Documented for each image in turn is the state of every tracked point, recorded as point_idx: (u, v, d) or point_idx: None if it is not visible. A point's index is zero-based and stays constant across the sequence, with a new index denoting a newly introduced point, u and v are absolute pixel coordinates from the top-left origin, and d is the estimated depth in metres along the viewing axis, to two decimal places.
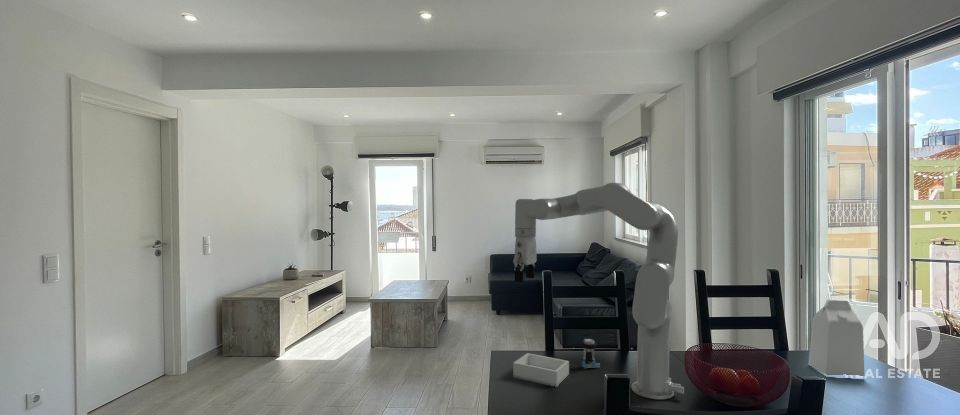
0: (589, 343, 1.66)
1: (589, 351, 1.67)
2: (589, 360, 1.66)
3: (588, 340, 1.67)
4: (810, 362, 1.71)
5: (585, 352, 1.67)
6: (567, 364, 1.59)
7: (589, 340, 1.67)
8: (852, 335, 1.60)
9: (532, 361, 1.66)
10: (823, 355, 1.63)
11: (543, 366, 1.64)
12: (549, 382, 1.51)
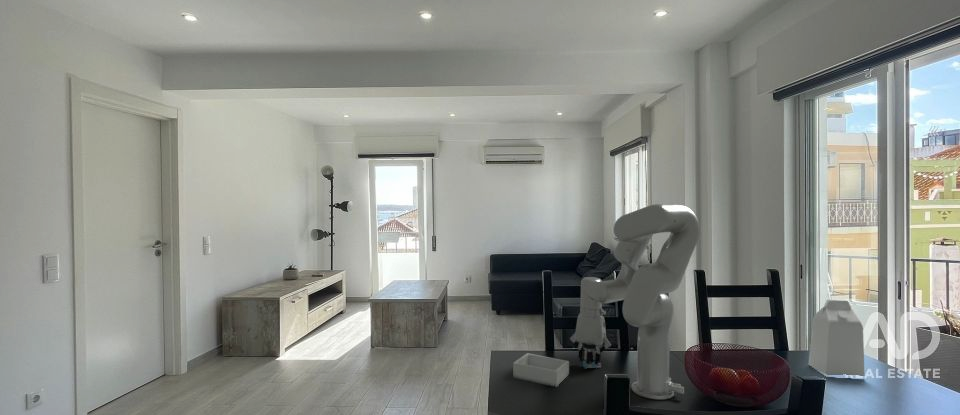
0: None
1: (590, 351, 1.67)
2: (590, 360, 1.66)
3: None
4: (810, 362, 1.71)
5: (586, 352, 1.67)
6: (567, 364, 1.59)
7: None
8: (852, 335, 1.60)
9: (532, 361, 1.66)
10: (823, 355, 1.63)
11: (543, 366, 1.64)
12: (549, 382, 1.51)
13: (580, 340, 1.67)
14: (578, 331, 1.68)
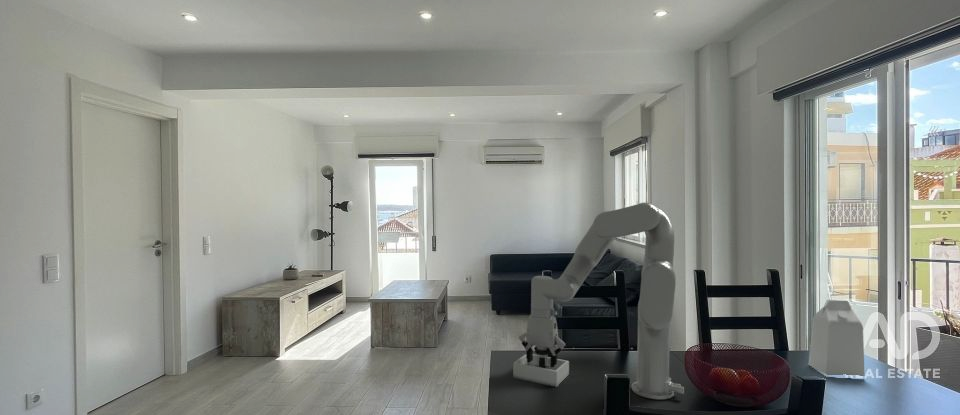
0: (542, 348, 1.57)
1: (542, 357, 1.58)
2: (542, 366, 1.57)
3: None
4: (810, 362, 1.71)
5: (538, 358, 1.58)
6: (567, 364, 1.59)
7: None
8: (852, 335, 1.60)
9: (532, 361, 1.66)
10: (823, 355, 1.63)
11: None
12: (549, 382, 1.51)
13: (531, 342, 1.58)
14: (529, 333, 1.59)
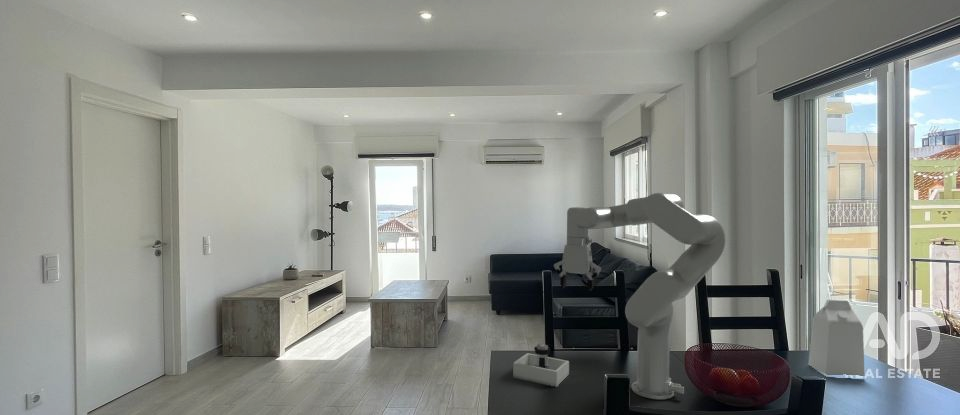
0: (542, 348, 1.57)
1: (542, 357, 1.58)
2: (542, 366, 1.57)
3: (541, 345, 1.58)
4: (810, 362, 1.71)
5: (538, 358, 1.58)
6: (567, 364, 1.59)
7: (542, 345, 1.58)
8: (852, 335, 1.60)
9: (532, 361, 1.66)
10: (823, 355, 1.63)
11: None
12: (549, 382, 1.51)
13: (567, 270, 1.67)
14: (564, 261, 1.68)
